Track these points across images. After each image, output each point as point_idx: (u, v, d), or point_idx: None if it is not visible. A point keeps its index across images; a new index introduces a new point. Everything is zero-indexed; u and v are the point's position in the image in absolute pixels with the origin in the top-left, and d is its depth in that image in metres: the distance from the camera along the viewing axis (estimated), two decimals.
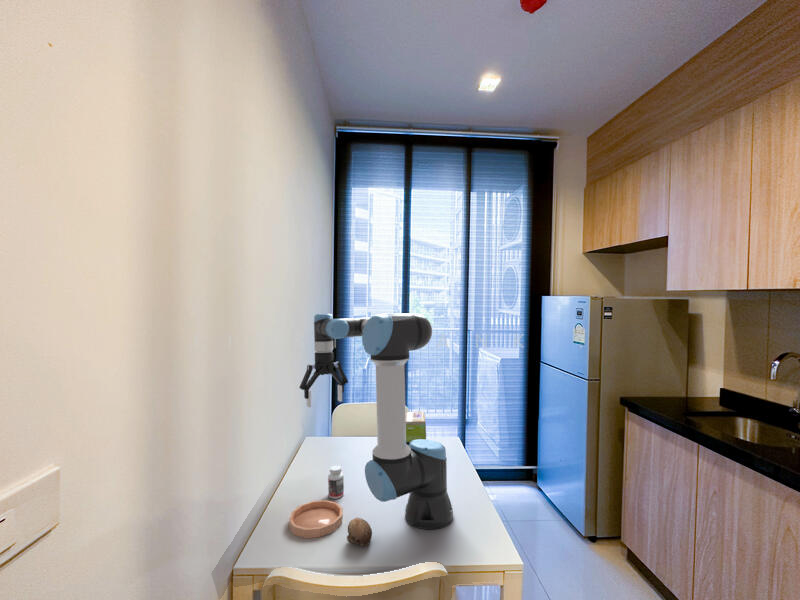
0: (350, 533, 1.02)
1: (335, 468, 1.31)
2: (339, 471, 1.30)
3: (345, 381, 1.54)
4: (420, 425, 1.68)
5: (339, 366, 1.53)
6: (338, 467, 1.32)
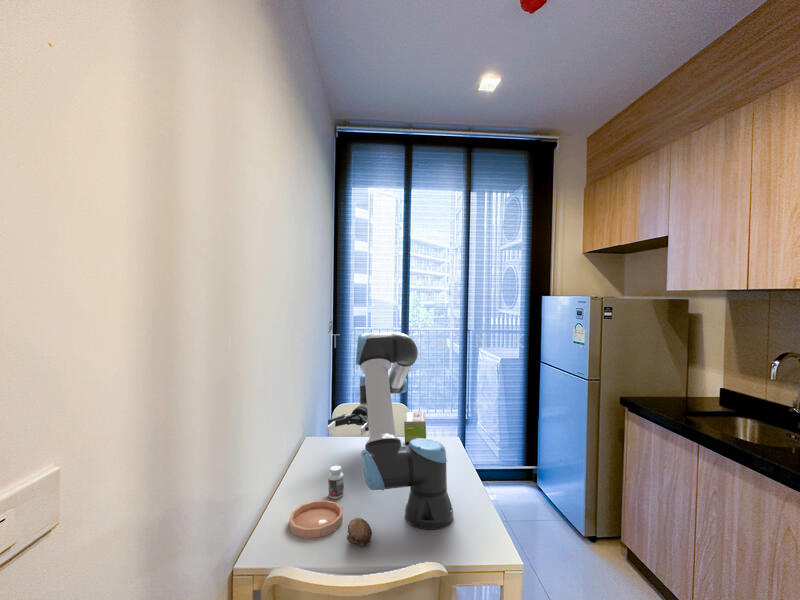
0: (350, 533, 1.02)
1: (335, 468, 1.31)
2: (339, 471, 1.30)
3: None
4: (420, 425, 1.68)
5: None
6: (338, 467, 1.32)
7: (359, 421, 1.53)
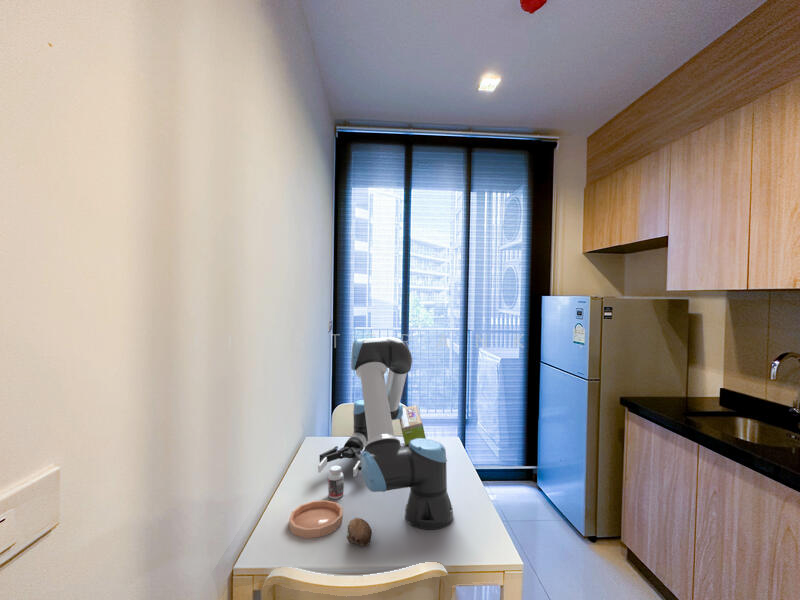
0: (350, 533, 1.02)
1: (335, 468, 1.31)
2: (339, 471, 1.30)
3: None
4: (417, 427, 1.64)
5: (364, 451, 1.48)
6: (338, 467, 1.32)
7: (352, 456, 1.47)
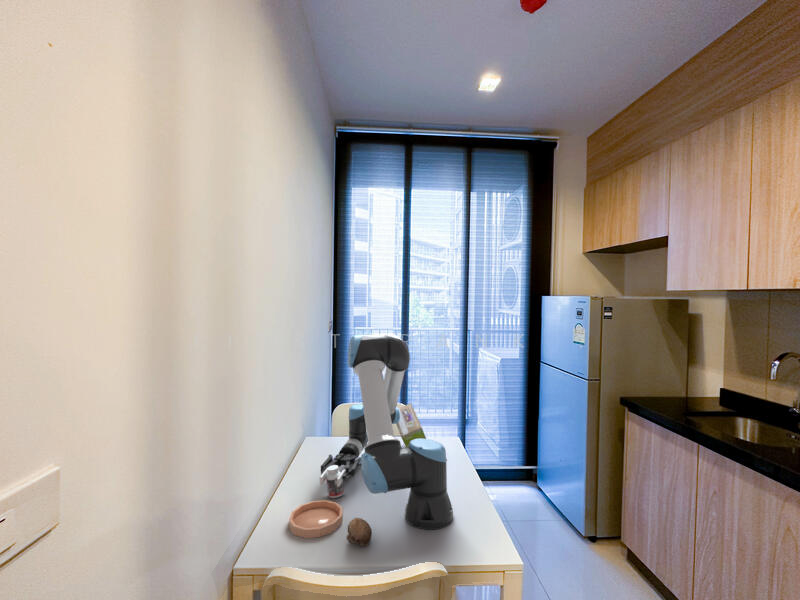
0: (350, 533, 1.02)
1: (332, 468, 1.30)
2: (336, 470, 1.30)
3: (351, 468, 1.34)
4: (417, 432, 1.60)
5: (358, 459, 1.41)
6: (335, 466, 1.32)
7: None
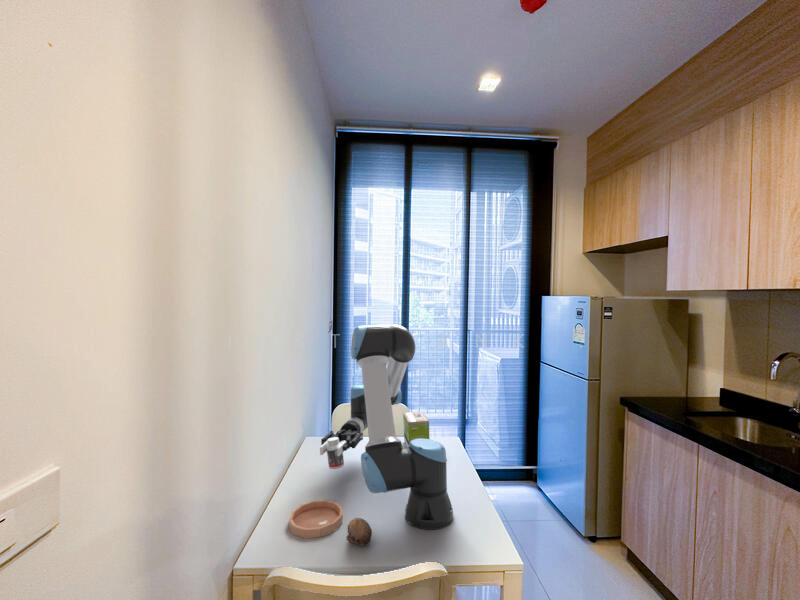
0: (350, 533, 1.02)
1: (332, 439, 1.30)
2: (336, 441, 1.30)
3: (352, 440, 1.33)
4: (424, 424, 1.68)
5: (359, 434, 1.40)
6: (335, 438, 1.31)
7: None
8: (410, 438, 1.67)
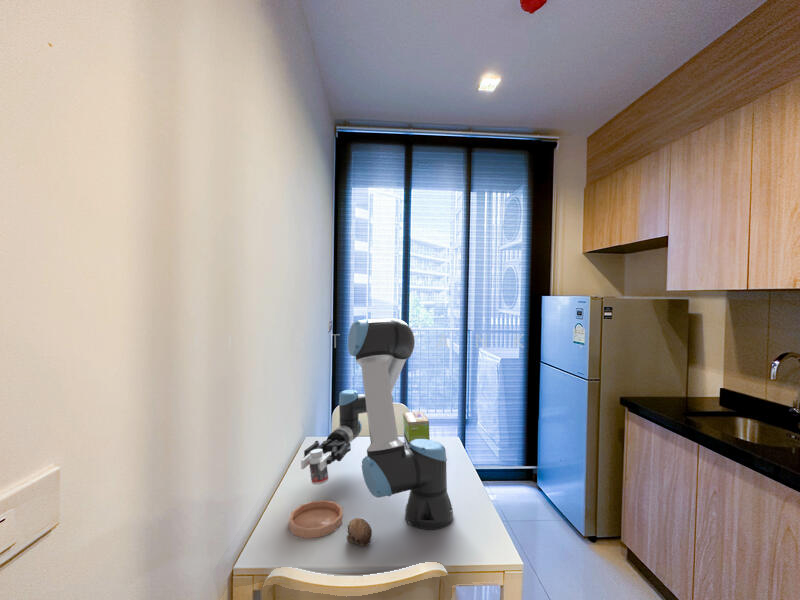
0: (350, 533, 1.02)
1: (315, 451, 1.18)
2: (320, 453, 1.18)
3: (337, 452, 1.22)
4: (424, 424, 1.68)
5: (346, 444, 1.28)
6: (319, 450, 1.19)
7: None
8: (410, 438, 1.67)
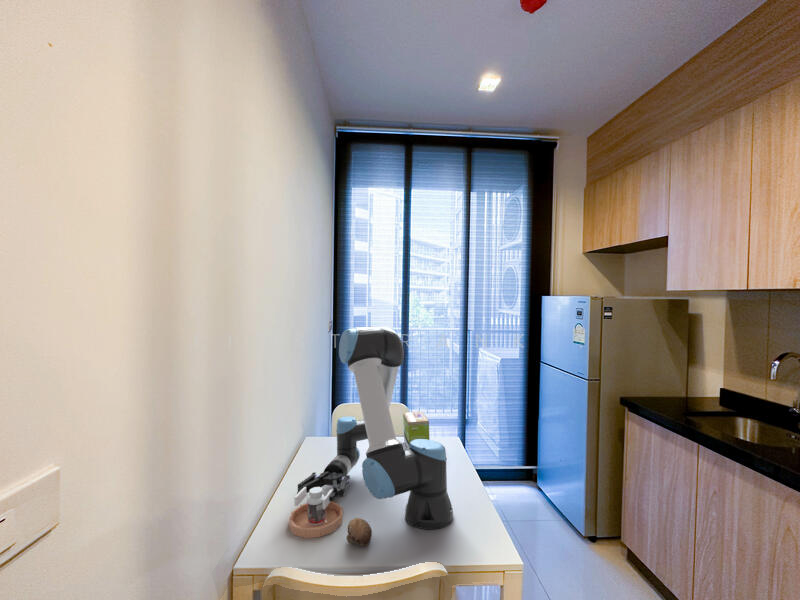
0: (350, 533, 1.02)
1: (315, 491, 1.14)
2: (320, 494, 1.13)
3: (340, 487, 1.18)
4: (424, 424, 1.68)
5: (345, 477, 1.25)
6: (319, 489, 1.15)
7: (332, 482, 1.24)
8: (410, 438, 1.67)
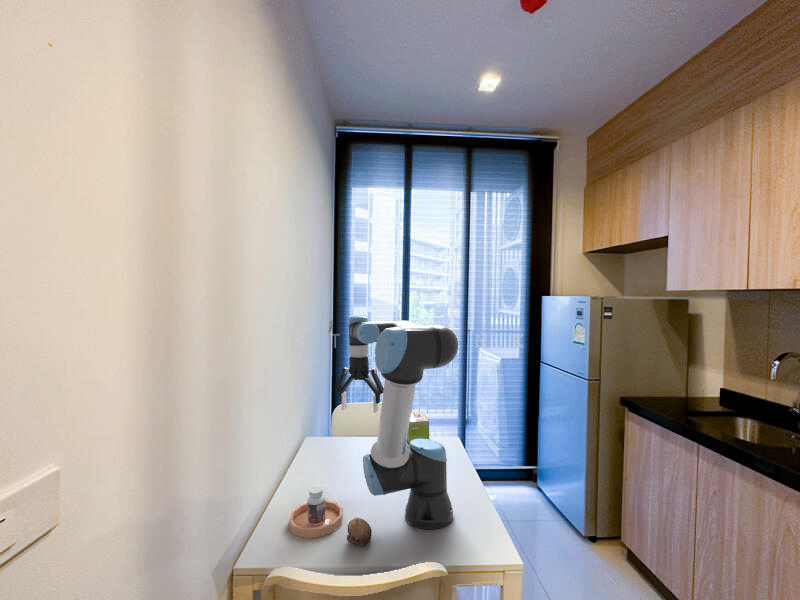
0: (350, 533, 1.02)
1: (315, 491, 1.14)
2: (320, 494, 1.13)
3: (379, 391, 1.39)
4: (424, 424, 1.68)
5: (372, 374, 1.40)
6: (319, 489, 1.15)
7: None
8: (410, 438, 1.67)
